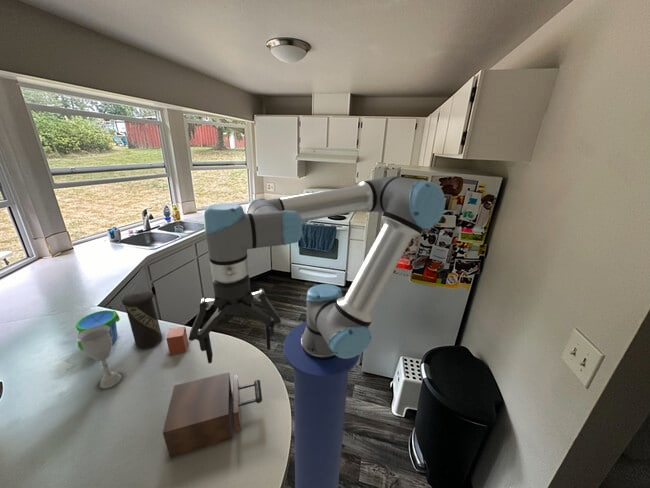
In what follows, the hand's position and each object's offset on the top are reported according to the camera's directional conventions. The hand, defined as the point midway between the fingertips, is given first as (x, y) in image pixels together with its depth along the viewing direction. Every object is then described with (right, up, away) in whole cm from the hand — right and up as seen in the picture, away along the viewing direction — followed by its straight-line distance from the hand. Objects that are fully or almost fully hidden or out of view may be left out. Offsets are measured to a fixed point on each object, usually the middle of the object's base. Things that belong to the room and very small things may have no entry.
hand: (240, 352), depth 62 cm
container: (-44, -9, +30) cm, 54 cm away
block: (-31, -10, +28) cm, 43 cm away
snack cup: (-59, -9, +29) cm, 67 cm away
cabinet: (-11, -20, +4) cm, 23 cm away
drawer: (-5, -19, +5) cm, 20 cm away
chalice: (-44, -15, +14) cm, 49 cm away
